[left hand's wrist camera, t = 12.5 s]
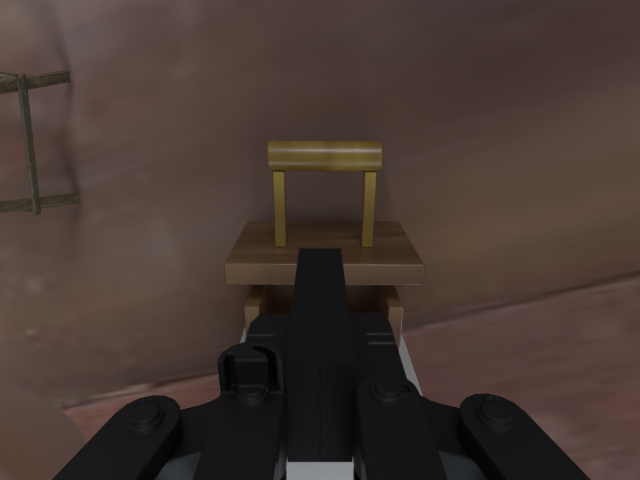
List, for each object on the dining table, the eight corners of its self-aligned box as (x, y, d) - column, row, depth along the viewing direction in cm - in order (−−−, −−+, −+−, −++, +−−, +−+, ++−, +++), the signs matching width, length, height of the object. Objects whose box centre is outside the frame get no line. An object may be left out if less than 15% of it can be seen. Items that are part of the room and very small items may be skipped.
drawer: (242, 131, 25) (213, 147, 18) (405, 132, 25) (436, 148, 18) (260, 434, 34) (244, 520, 27) (382, 434, 34) (398, 521, 27)
